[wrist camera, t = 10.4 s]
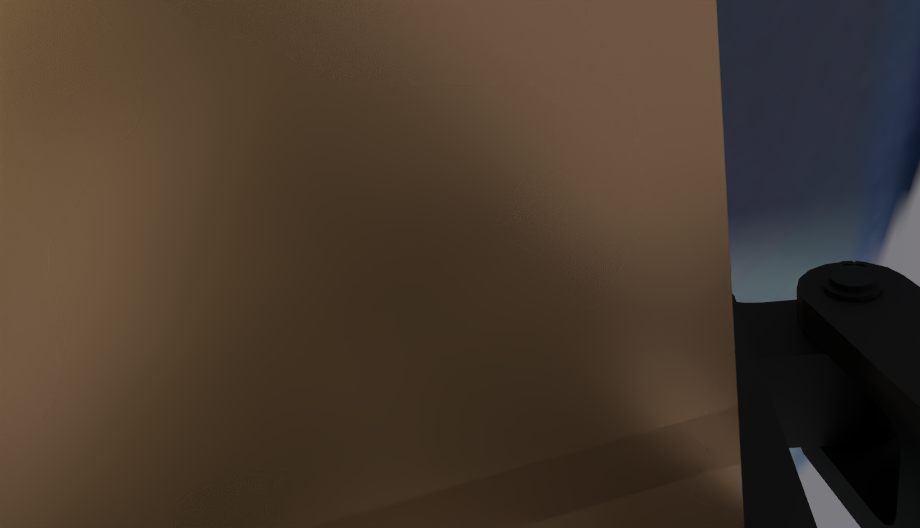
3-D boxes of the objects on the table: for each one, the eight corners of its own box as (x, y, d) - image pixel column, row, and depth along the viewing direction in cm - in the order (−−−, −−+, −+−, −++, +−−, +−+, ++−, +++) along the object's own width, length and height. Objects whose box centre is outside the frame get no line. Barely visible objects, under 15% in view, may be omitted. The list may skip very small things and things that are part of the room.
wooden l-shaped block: (266, 375, 18) (178, 1059, 7) (50, -163, 13) (-1364, -567, 2) (506, 310, 18) (762, 872, 8) (388, -240, 13) (669, -927, 2)
